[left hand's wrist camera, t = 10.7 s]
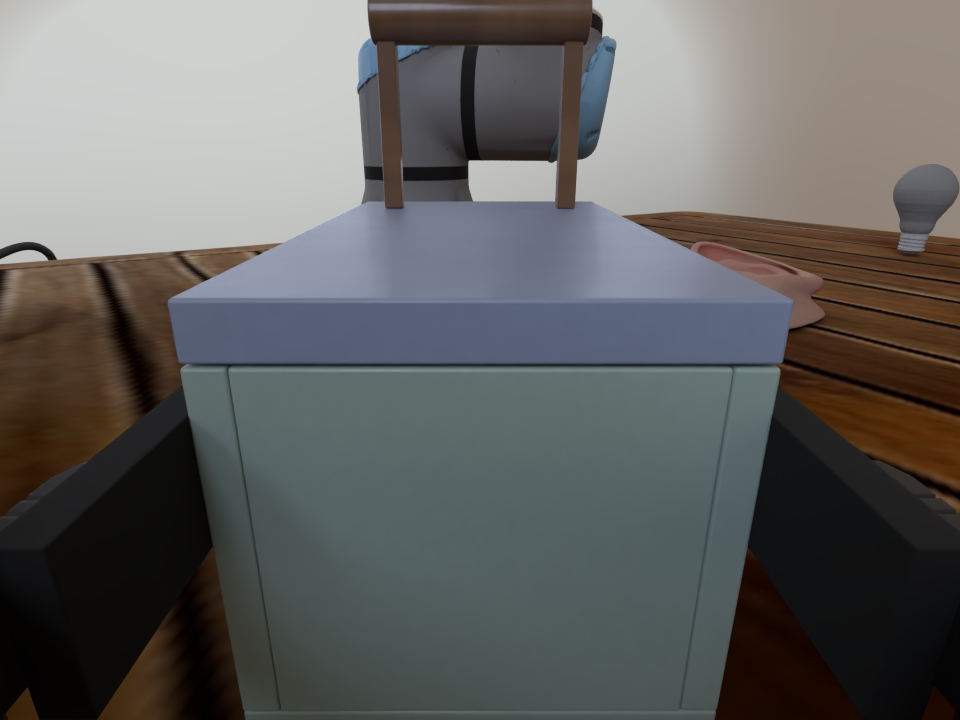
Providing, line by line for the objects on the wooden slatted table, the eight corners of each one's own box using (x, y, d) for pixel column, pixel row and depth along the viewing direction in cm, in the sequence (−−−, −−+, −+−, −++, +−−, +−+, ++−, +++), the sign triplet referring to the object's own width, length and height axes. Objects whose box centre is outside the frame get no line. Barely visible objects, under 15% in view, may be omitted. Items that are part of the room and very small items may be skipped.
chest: (376, 408, 29) (365, 230, 26) (582, 408, 29) (594, 231, 26) (247, 739, 13) (177, 369, 10) (712, 739, 13) (783, 368, 10)
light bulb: (892, 256, 67) (914, 164, 64) (871, 248, 73) (890, 163, 69) (952, 258, 66) (978, 165, 62) (925, 250, 71) (948, 163, 68)
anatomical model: (838, 278, 37) (655, 262, 43) (825, 337, 39) (650, 315, 44) (833, 248, 48) (688, 238, 53) (823, 295, 50) (683, 281, 55)
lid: (368, 227, 27) (354, 7, 24) (590, 227, 27) (604, 8, 24) (176, 366, 10) (44, -340, 7) (783, 366, 10) (917, -338, 7)
